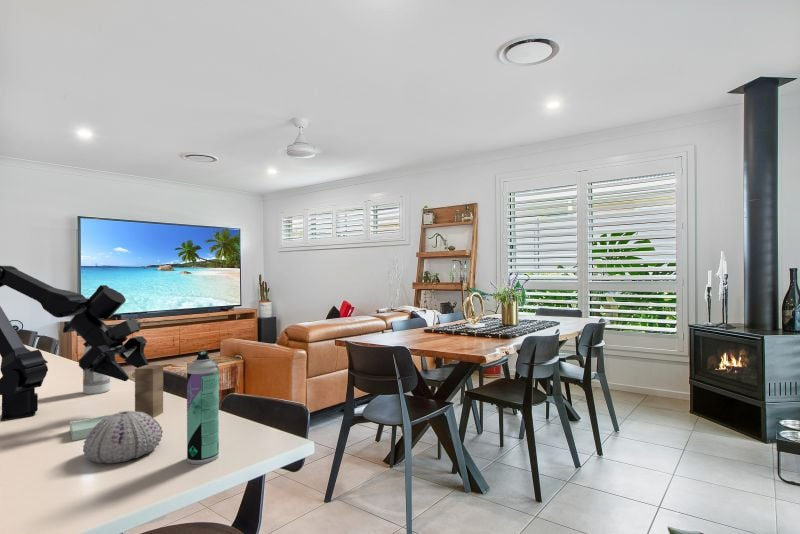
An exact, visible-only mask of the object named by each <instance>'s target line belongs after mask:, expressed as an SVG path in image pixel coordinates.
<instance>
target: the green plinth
mask: <svg viewBox="0 0 800 534" xmlns="http://www.w3.org/2000/svg"><path fill="white" fill-rule="evenodd" d="M110 415H111V414H108V415H102V416H97V417H91V418H86V419H80V420H74V421H70V422H69V432H70V435H71V438H72V441H74V442H75V441H79V440H84V439H87V435H89V433H90V431H91V430H92V429H93V428H94V427H95V426H96V425H97V424H98V423H99V422H100V421H102V420H103V419H104V418H106V417H108V416H110Z"/></svg>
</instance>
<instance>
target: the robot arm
mask: <svg viewBox="0 0 800 534" xmlns="http://www.w3.org/2000/svg"><path fill="white" fill-rule="evenodd" d="M5 286H6V287H8V288H10V289H12V290H15V291H16V292H18V293H20V294H23V295H24V296H26V297H28V298H31V299H33V300H34V301H36V302H38V303H39V304H40V305H41V307H42V309H43V310H44V311H46V312H47V313H49V314H50V315H51V316H52V317H54V318H68V317H72V318H71V319H70V320H68V321H64V323H63V327H62V328H63V329H62V333H64V334H65V333H71V332H75V333H77V334H78V336H80V338H82V339H83V340H84V341H85V342H84V343H83V346H84V348H85V347H90V346H91V348H90V349H89V350H88V351H87V352H86V353H85V354H84V355H83V354H82V356H81V358H79V359H78V366H79V368H80V369H81V370H82V371H83V370H84V371H87V370H89V371H90V372H96V373H99V374H103V375H107V376H110V377H111V378H114V379H117V380H120V381H123V382H128V380H129V379H130V377H129V375H128V374H127V373H126V372H125V370H124V369H123V367H122V366H120V364H119V363H118V362H117V361H116V356H118V357H120V358H121V359H124V360H123V361H124V362H125V363H127V364H129V365H131V366H133V367H134V368H135V369H136V368H139V367H142V366H145V365H150V364H149V362H148V360H147V357H146V355H145V353H144V351H145V347H146V345H147V343H148V341H147V339H146V338H145V337H144V336H140V335H139V336H133V337H130V338H128V336H131V335H133V334H134V333H138V332H140V331H141V322H140V321H139V320H138V319H137V318H134V317H130V318H129V319H127V320H124V321H122V322H120V323H118V324H115V325H109V326H108V325H107V324H106V323H105V322H104V321H103V319H105V320H108V319H110V318H111V317H112V316H113V315H114V314H115V313H116V312H117V311H118V310H119V309H120V308H121V307H122V305H124V303H125V302H126V298H125V296H124V294H122V292H119V291H117V290H116V289H113V288H110V286H108V285H107V284H103V285H101V284H100V285H99V286H98V287H97V289H96V290H95V292H94V293H93V294H92V295H91V296H90V297H87V298H86V297H85V296H84V295H83V294H81V293H79V292H75V291H71V290H67V289H60V288H57V287H55V286H54V287H53V286H51V285H50V284H48V283H45V282H43V281H41V280H40V279H37V278H35V277H33V276H31V275H29V274H27V273H25V272H23V271H21V270H19V269H18V268H17V267H15V266H12V265H0V288H2V287H5ZM0 356H1V360H0V361H1V363H0V373H1V374H2V376H1V377H0V396H1V414H0V415H1V416H0V421H6V420H5V419H8V420H14V419H19V418H25V417H31V416H33V417H34V416H36V412H37V411H39V409H38V406H39V402H38V400H39V395H38V392H36V388H41V387H42V385H43V382H44V380H45V378H46V376H47V372H48V371H49V367H48V365H47V364H48V362H49V361H47V360H46V359H45V358H44V356H43V354H42V352H41V350H39V349H34V350H30V349H29V348H27V347H26V345H25V344H24V343H23V341H22V339H21V338H20V336H19V335H18V333H17V331H16V329H15V328H14V326H13V324H12V323H11V321H10V320H9V318H8V316H7V315H6V313H5V312H4V309H3V308H2V307H1V305H0ZM13 418H14V419H13Z"/></svg>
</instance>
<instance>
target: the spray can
mask: <svg viewBox="0 0 800 534" xmlns="http://www.w3.org/2000/svg"><path fill="white" fill-rule="evenodd" d="M218 365H219V363H218V362H216V361H214V360H212V358H211V357H210V356H209V354H208V351H199V352H198V353H197V357H196V358H195V359H194V361H193V362H192V363H190V364H189V365H187V370H186V408H187V409H186V460H187V463H188V464H190V465H203V464H208V463H211V462H213V461H216V460H217V459H218V458H219V454H220V452H219V451H220V450H219V449H220V448H219V447H220V444H219V443H220V442H219V441H220V438H219V433H220V431H219V429H220V427H219V426H220V425H219V424H220V422H219V419H220V418H219V417H220V416H219V413H220V410H219V407H220V406H219V405H220V404H219V403H220V402H219V400H220V399H219V397H220V395H219V393H220V392H219V388H220V387H219V381H220V380H219V367H218Z"/></svg>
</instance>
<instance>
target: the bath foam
mask: <svg viewBox="0 0 800 534" xmlns="http://www.w3.org/2000/svg"><path fill="white" fill-rule="evenodd" d="M90 348H91V346H90V347H85V346H84V349H83V352H82V356H83V355H84V354H85V353H86V352H87V351H88V350H89V349H90ZM111 378H112V377H110V376H107V375H103V374H99V373H96V372H90V371H89V370H87V371H84V370H83V369H82V388H83V389H82V391H83V394H86V395H97V394H98V393H99V394H103V392H104V393H107V392H109V391H110V390H112V389H111V387H112V386H111V385H112V384H111V383H112V380H111ZM106 391H107V392H106Z"/></svg>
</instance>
